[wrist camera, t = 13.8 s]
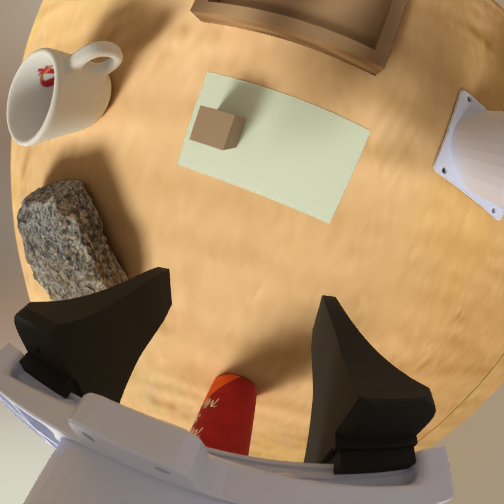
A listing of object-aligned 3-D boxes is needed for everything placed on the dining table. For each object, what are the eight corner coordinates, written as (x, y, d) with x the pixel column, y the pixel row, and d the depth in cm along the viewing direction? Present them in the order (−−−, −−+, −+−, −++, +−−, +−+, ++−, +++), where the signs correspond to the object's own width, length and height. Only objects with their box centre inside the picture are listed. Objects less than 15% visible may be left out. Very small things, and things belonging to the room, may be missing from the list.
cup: (136, 26, 16) (78, 3, 9) (158, 93, 18) (95, 84, 11) (59, 88, 19) (1, 89, 12) (76, 149, 22) (15, 164, 14)
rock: (38, 189, 25) (76, 295, 31) (-1, 207, 19) (47, 323, 25) (103, 161, 22) (146, 298, 28) (53, 178, 16) (115, 337, 22)
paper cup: (202, 363, 30) (158, 464, 17) (267, 373, 29) (243, 485, 16) (208, 399, 33) (176, 485, 21) (264, 408, 32) (244, 500, 19)
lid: (369, 131, 18) (384, 130, 14) (328, 221, 21) (333, 241, 17) (209, 73, 18) (190, 61, 14) (179, 163, 21) (155, 170, 18)
